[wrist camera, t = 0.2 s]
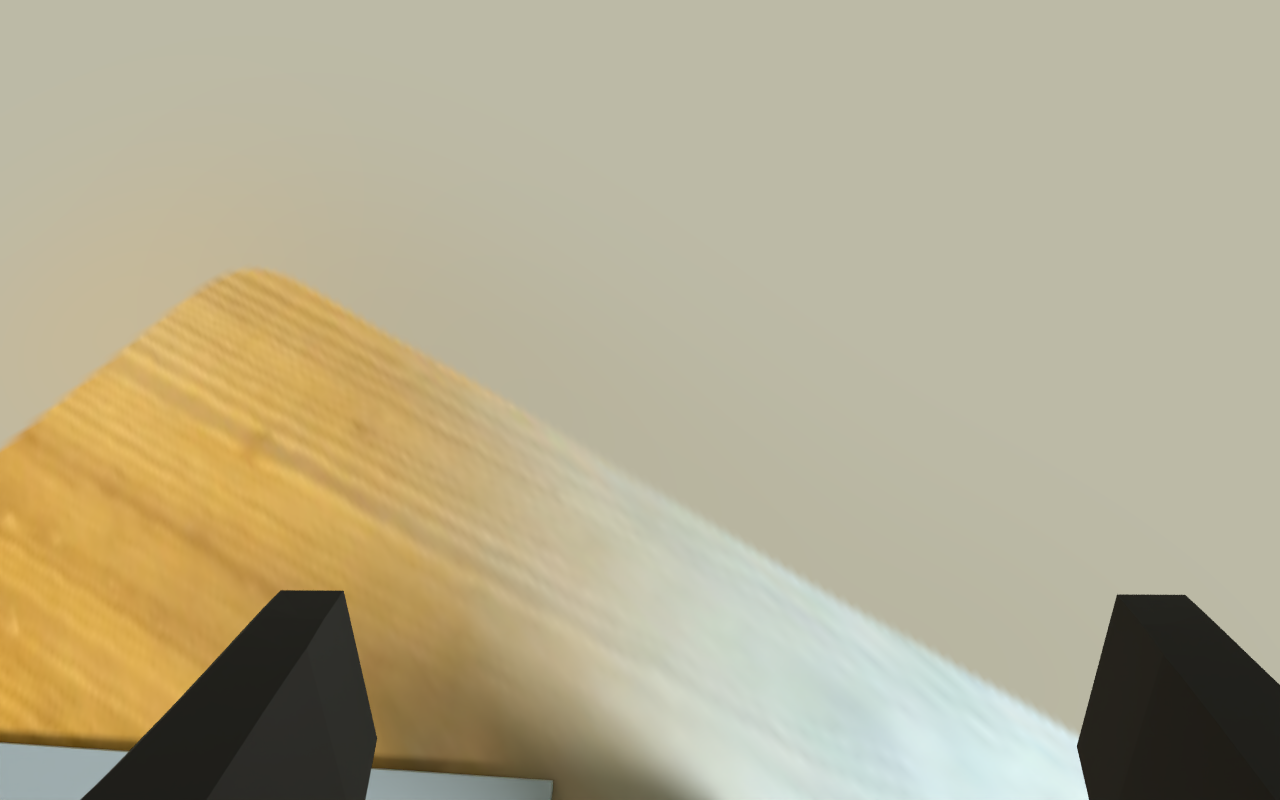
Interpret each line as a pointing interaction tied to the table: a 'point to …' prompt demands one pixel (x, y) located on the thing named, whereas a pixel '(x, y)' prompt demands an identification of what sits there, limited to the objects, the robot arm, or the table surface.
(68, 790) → the mat
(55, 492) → the table surface
